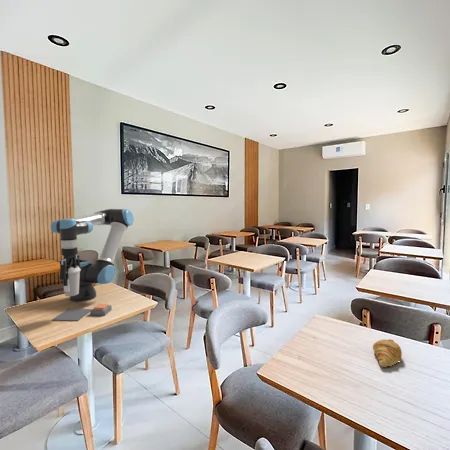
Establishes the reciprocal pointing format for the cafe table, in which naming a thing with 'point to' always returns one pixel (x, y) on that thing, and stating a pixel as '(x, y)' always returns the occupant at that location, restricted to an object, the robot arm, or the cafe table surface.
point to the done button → (101, 307)
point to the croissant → (387, 352)
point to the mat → (72, 315)
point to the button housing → (101, 311)
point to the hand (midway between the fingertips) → (71, 288)
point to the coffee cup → (73, 281)
